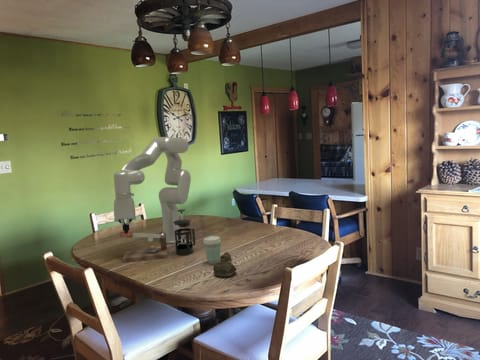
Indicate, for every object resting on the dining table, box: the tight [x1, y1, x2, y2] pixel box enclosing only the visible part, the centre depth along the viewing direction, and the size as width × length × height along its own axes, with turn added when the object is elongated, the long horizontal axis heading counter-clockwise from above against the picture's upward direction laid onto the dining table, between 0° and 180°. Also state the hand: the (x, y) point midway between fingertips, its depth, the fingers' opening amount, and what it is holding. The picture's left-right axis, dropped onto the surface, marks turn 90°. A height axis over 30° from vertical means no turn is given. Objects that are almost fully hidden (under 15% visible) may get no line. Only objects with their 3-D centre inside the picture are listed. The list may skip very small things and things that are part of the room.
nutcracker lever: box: [119, 231, 165, 242], centre depth 193 cm, size 22×3×4 cm, turn 100°
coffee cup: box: [202, 235, 222, 265], centre depth 180 cm, size 8×8×12 cm
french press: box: [173, 209, 196, 256], centre depth 197 cm, size 12×9×23 cm
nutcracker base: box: [122, 232, 169, 263], centre depth 194 cm, size 22×12×11 cm, turn 99°
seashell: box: [212, 251, 237, 278], centre depth 163 cm, size 11×12×10 cm
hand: (126, 231), depth 191 cm, fingers closed
